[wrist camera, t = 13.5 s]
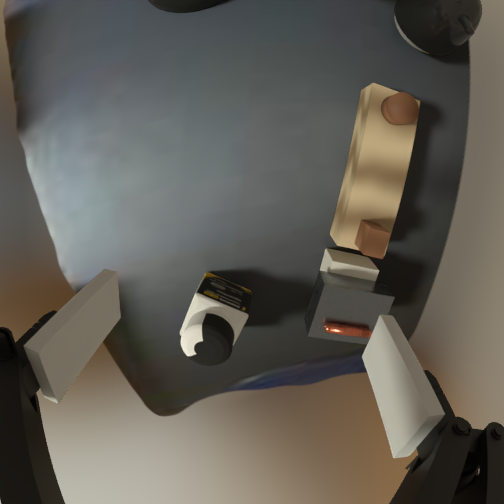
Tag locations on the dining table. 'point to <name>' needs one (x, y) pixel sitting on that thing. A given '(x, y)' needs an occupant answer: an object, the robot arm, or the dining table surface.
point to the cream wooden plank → (375, 170)
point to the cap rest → (349, 265)
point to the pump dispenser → (437, 23)
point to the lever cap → (346, 307)
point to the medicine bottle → (214, 320)
